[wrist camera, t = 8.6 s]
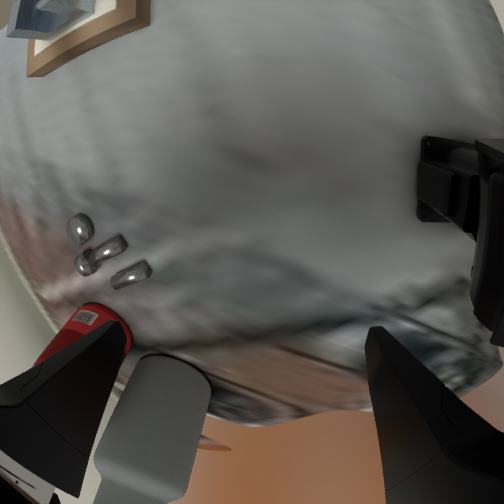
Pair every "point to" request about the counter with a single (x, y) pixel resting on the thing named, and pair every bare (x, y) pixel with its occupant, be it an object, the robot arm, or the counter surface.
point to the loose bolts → (102, 254)
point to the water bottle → (152, 434)
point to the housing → (46, 17)
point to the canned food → (83, 329)
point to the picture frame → (87, 34)
